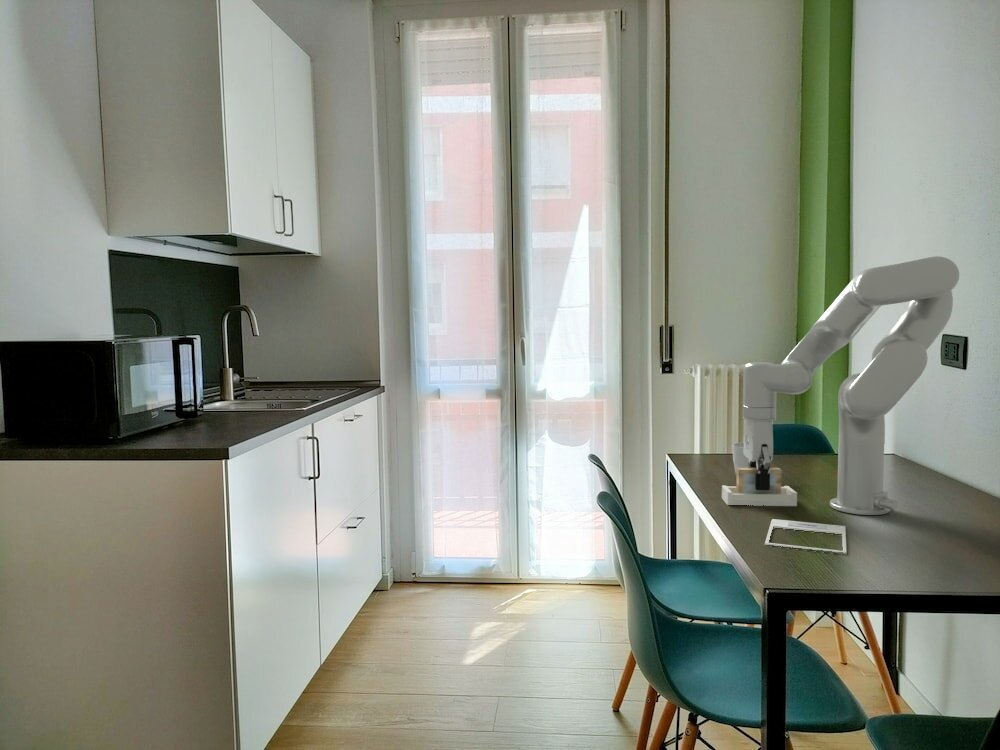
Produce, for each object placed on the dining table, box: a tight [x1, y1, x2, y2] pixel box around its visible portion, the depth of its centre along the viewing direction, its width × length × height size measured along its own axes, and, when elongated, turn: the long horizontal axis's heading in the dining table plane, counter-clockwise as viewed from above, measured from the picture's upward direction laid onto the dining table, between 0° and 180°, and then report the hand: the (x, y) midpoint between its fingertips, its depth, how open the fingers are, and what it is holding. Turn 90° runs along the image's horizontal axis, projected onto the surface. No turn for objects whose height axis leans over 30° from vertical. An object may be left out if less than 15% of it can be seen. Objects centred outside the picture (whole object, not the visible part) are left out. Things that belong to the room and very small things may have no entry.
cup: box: [732, 441, 763, 474], centre depth 194 cm, size 8×8×10 cm
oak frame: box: [735, 467, 782, 494], centre depth 173 cm, size 10×2×7 cm, turn 85°
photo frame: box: [764, 518, 847, 554], centre depth 146 cm, size 15×1×18 cm
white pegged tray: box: [721, 484, 798, 507], centre depth 173 cm, size 16×7×3 cm, turn 84°
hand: (758, 485), depth 173 cm, fingers open, 6 cm apart
